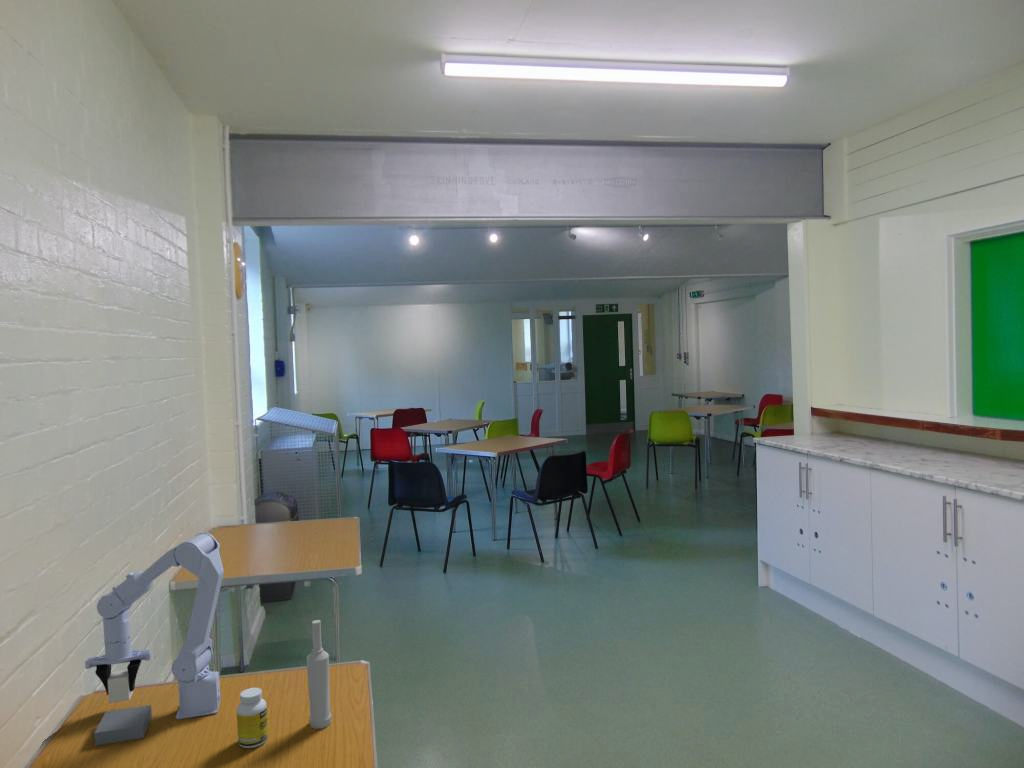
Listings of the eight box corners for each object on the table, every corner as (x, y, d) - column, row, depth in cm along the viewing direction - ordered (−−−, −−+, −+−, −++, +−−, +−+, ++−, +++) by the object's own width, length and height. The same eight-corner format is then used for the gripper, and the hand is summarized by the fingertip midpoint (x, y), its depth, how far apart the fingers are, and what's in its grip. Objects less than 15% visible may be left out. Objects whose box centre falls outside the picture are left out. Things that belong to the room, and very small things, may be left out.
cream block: (133, 691, 182) (131, 669, 182) (129, 700, 178) (127, 676, 178) (113, 694, 181) (112, 671, 181) (109, 703, 177) (107, 679, 176)
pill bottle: (258, 750, 160) (255, 700, 159) (232, 748, 161) (229, 698, 161) (273, 734, 166) (271, 686, 166) (248, 732, 168) (246, 684, 167)
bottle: (336, 722, 171) (331, 621, 169) (317, 731, 167) (312, 627, 166) (324, 715, 174) (319, 615, 173) (305, 724, 171) (300, 622, 169)
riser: (151, 716, 176) (151, 704, 176) (143, 737, 166) (142, 725, 166) (106, 723, 173) (105, 711, 173) (95, 745, 164) (94, 733, 164)
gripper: (152, 628, 184) (155, 679, 185) (89, 636, 180) (93, 688, 181) (146, 639, 178) (150, 692, 178) (81, 647, 174) (84, 701, 174)
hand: (121, 691), depth 179 cm, fingers closed on cream block, 4 cm apart
